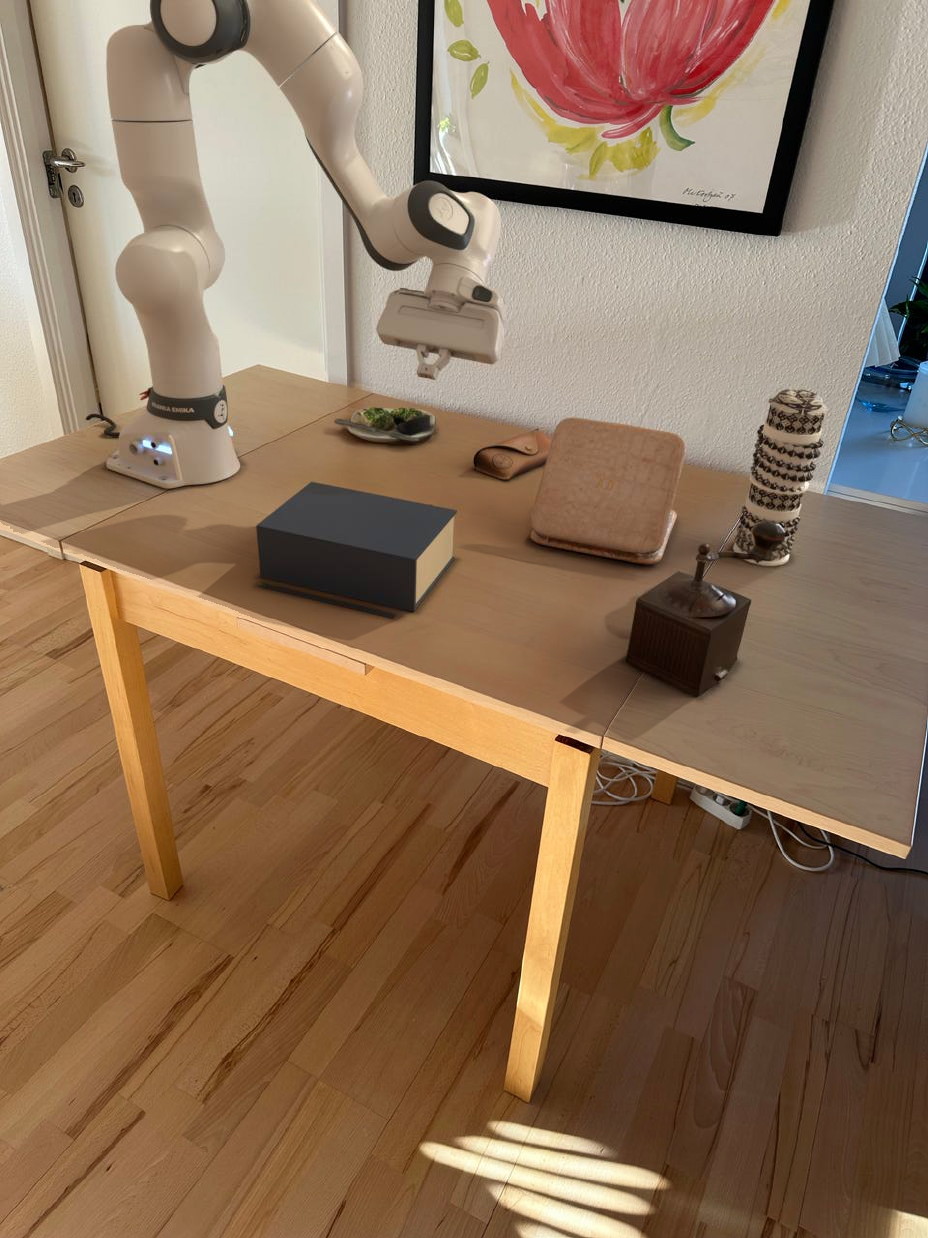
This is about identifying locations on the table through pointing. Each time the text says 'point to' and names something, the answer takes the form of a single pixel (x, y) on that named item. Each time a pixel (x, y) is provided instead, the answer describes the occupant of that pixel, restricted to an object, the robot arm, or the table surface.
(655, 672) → the manual coffee grinder
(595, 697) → the table surface
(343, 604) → the dark grey thin rod
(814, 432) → the white patterned cylinder
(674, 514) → the case
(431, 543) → the dictionary
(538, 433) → the sunglasses case
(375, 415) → the salad plate
